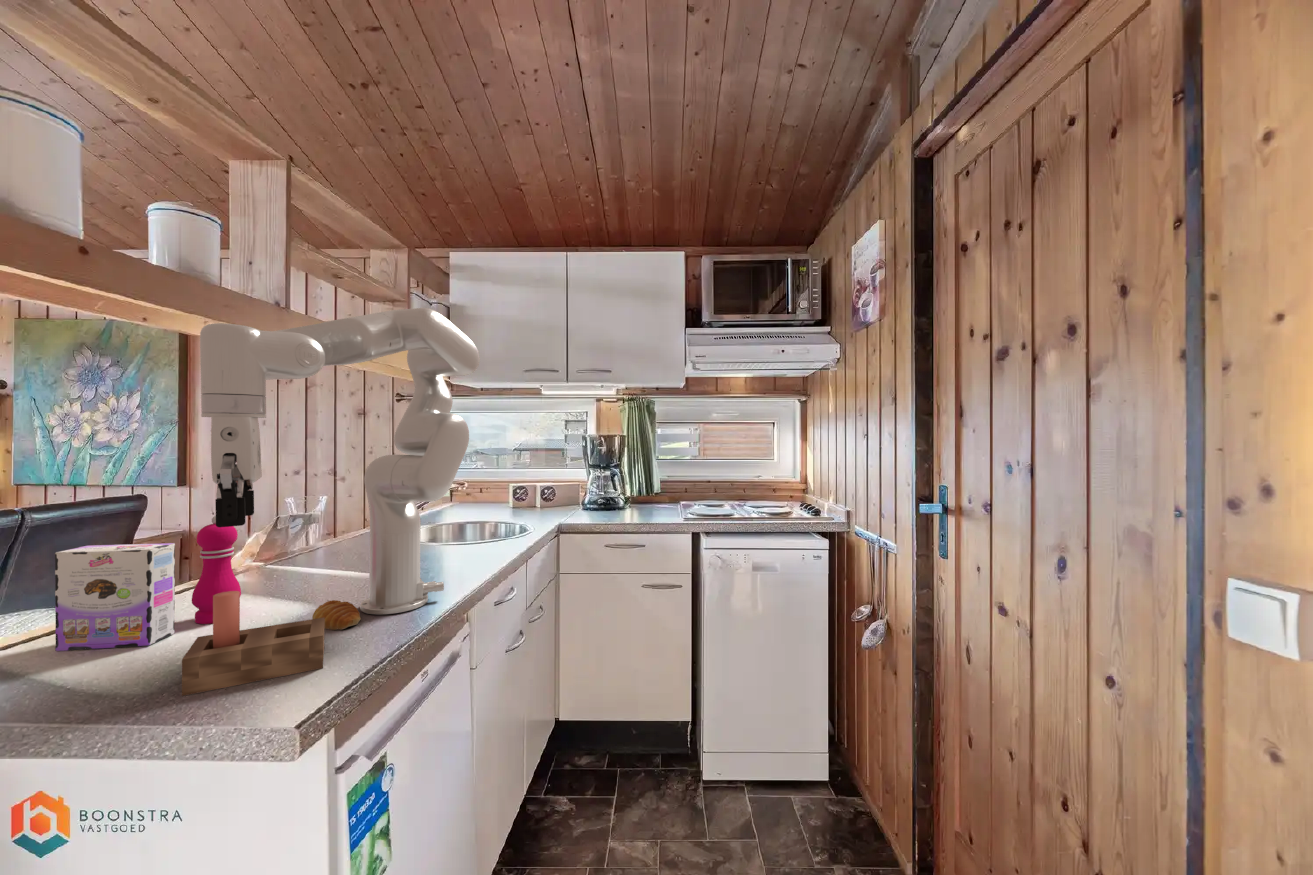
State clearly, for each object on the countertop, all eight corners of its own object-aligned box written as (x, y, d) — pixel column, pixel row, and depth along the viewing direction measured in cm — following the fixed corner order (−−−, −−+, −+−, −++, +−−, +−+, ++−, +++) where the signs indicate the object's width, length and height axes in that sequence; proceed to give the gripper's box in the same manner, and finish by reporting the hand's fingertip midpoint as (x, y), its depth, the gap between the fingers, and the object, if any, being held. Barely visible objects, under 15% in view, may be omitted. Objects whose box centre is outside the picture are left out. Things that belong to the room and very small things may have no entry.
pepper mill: (250, 612, 100) (251, 512, 100) (215, 626, 93) (216, 518, 93) (217, 611, 101) (218, 512, 101) (180, 624, 94) (181, 517, 94)
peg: (241, 655, 76) (241, 589, 76) (237, 662, 74) (237, 595, 74) (215, 659, 75) (215, 592, 75) (210, 667, 72) (211, 598, 72)
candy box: (176, 633, 90) (177, 541, 90) (148, 647, 84) (149, 548, 84) (86, 637, 87) (87, 543, 88) (51, 652, 82) (53, 551, 82)
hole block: (324, 647, 84) (324, 617, 84) (322, 668, 77) (323, 635, 77) (197, 669, 76) (197, 636, 76) (181, 696, 68) (182, 659, 68)
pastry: (370, 623, 95) (370, 603, 95) (332, 635, 90) (332, 614, 90) (345, 614, 100) (345, 595, 100) (307, 625, 95) (307, 605, 95)
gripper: (259, 406, 70) (260, 527, 71) (271, 410, 85) (272, 510, 85) (187, 405, 66) (189, 533, 67) (213, 409, 81) (214, 514, 81)
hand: (236, 520), depth 76 cm, fingers open, 9 cm apart
